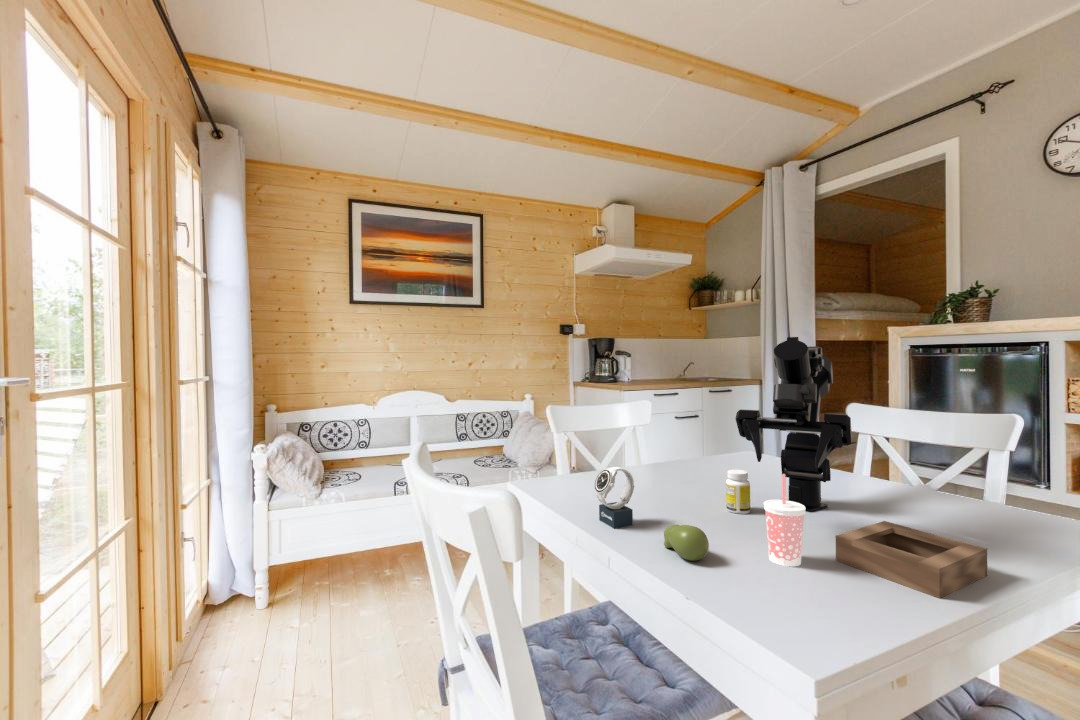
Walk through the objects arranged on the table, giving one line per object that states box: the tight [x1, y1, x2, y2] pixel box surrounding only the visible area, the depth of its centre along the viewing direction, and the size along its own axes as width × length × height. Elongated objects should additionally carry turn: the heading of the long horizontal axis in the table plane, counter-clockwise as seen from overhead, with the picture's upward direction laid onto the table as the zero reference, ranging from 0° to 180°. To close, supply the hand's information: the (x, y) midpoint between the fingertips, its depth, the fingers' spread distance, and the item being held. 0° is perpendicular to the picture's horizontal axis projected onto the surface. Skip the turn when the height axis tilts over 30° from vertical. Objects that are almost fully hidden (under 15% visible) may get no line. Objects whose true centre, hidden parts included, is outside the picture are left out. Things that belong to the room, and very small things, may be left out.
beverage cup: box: [762, 473, 807, 568], centre depth 78 cm, size 6×6×14 cm
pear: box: [663, 524, 710, 562], centre depth 82 cm, size 6×5×10 cm
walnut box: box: [835, 520, 988, 599], centre depth 75 cm, size 14×14×4 cm
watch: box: [594, 466, 635, 530], centre depth 97 cm, size 6×8×11 cm
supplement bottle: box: [725, 469, 751, 515], centre depth 103 cm, size 5×5×8 cm
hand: (786, 463), depth 85 cm, fingers open, 9 cm apart
